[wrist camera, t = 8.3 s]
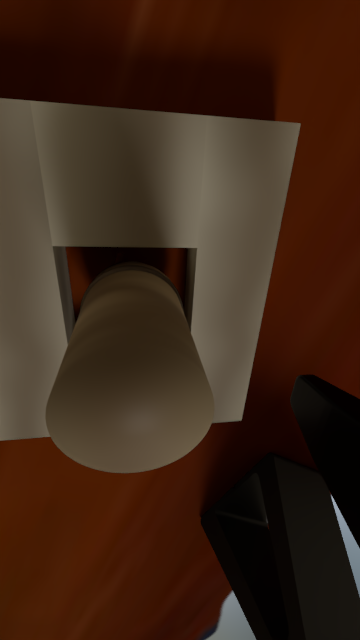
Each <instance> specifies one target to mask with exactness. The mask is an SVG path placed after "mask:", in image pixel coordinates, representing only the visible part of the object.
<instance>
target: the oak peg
mask: <svg viewBox="0 0 360 640" xmlns="http://www.w3.org/2000/svg"><path fill="white" fill-rule="evenodd" d="M214 407H215V404H214V397H213V393H212V390H211V387H210V385H209V382H208V379H207V376H206V373H205V371H204V368H203V365H202V362H201V359H200V357H199V354H198V351H197V348H196V346H195V343H194V340H193V337H192V334H191V332H190V329H189V326H188V323H187V320H186V318H185V315H184V310H183V304H182V301H181V298H180V295H179V293H178V291H177V289H176V288H175V286H174V285H173V284H172V282H171V281H170V280H169V278H168V277H167V276H166V275H165V274H164V273H162V272H161V271H160V270H158V269H157V268H155V267H153V266H150V265H147V264H144V263H141V262H136V261H128V262H122V263H119V264H116V265H113V266H111V267H109V268H107V269H105V270H104V271H102V272H101V273H100V274H99V275H97V277H96V278H95V279H94V280H93V282H92V283H91V284H90V285H89V287H88V288H87V290H86V292H85V294H84V296H83V299H82V302H81V306H80V313H79V316H78V319H77V322H76V324H75V327H74V330H73V333H72V335H71V338H70V341H69V343H68V346H67V349H66V352H65V354H64V357H63V360H62V363H61V365H60V368H59V371H58V374H57V376H56V379H55V382H54V385H53V387H52V390H51V393H50V395H49V398H48V401H47V405H46V412H45V419H46V426H47V429H48V432H49V435H50V436H51V438H52V440H53V442H54V443H55V444H56V446H57V447H58V448H59V449H60V450H61V451H62V452H63V453H64V454H65V455H67V456H68V457H70V458H71V459H73V460H74V461H76V462H78V463H80V464H82V465H84V466H87V467H90V468H93V469H96V470H101V471H106V472H114V473H134V472H142V471H148V470H152V469H156V468H159V467H162V466H165V465H167V464H170V463H172V462H174V461H176V460H178V459H180V458H181V457H183V456H184V455H186V454H187V453H189V452H190V451H191V450H192V449H193V448H195V447H196V446H197V445H198V444H199V443H200V441H201V440H202V439H203V438H204V436H205V435H206V433H207V432H208V430H209V428H210V426H211V423H212V420H213V416H214Z"/></svg>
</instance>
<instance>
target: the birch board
mask: <svg viewBox="0 0 360 640" xmlns="http://www.w3.org/2000/svg"><path fill="white" fill-rule="evenodd" d="M300 125H301V123H289V122H277V121H266V120H254V119H242V118H230V117H218V116H207V115H195V114H183V113H171V112H159V111H147V110H136V109H124V108H112V107H100V106H88V105H76V104H65V103H53V102H41V101H29V100H17V99H5V98H0V441H2V440H14V439H26V438H38V437H50V435H49V432H48V429H47V426H46V419H45V412H46V405H47V401H48V398H49V395H50V393H51V390H52V387H53V385H54V382H55V379H56V376H57V374H58V371H59V368H60V365H61V363H62V360H63V357H64V354H65V352H66V349H67V346H68V343H69V341H70V338H71V335H72V333H73V330H74V327H75V324H76V323H75V316H74V308H73V301H72V293H71V286H70V278H69V271H68V263H67V256H66V249H65V246H82V247H162V248H188V252H187V269H186V286H185V303H184V315H185V318H186V320H187V323H188V326H189V329H190V332H191V334H192V337H193V340H194V343H195V346H196V348H197V351H198V354H199V357H200V359H201V362H202V365H203V368H204V371H205V373H206V376H207V379H208V382H209V385H210V387H211V390H212V393H213V397H214V404H215V407H214V416H213V420H212V423H219V422H231V421H242V416H243V411H244V406H245V401H246V396H247V391H248V386H249V380H250V375H251V370H252V365H253V360H254V355H255V350H256V345H257V340H258V335H259V330H260V325H261V320H262V315H263V310H264V305H265V300H266V295H267V290H268V285H269V280H270V275H271V270H272V265H273V260H274V255H275V250H276V245H277V240H278V235H279V230H280V225H281V220H282V215H283V210H284V205H285V200H286V195H287V190H288V185H289V180H290V175H291V170H292V165H293V160H294V155H295V150H296V145H297V140H298V135H299V130H300Z"/></svg>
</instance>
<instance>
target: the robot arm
mask: <svg viewBox="0 0 360 640" xmlns="http://www.w3.org/2000/svg"><path fill="white" fill-rule="evenodd" d="M290 401H291V406H292V409H293V412H294V414H295V416H296V419H297V421H298V424H299V426H300V429H301V431H302V434H303V436H304V439H305V441H306V444H307V446H308V449H309V451H310V453H311V455H312V458H313V460H314V462H315V464H316V466H317V468H318V470H319V472H320V474H321V475H322V477H323V479H324V481H325V483H326V485H327V487H328V489H329V491H330V493H331V495H332V496H333V498H334V500H335V502H336V504H337V506H338V508H339V510H340V512H341V514H342V515H343V517H344V519H345V521H346V523H347V525H348V527H349V529H350V531H351V533H352V535H353V537H354V539H355V540H356V542H357V544H358V546H359V548H360V399H358V398H356V397H354V396H353V395H351V394H349V393H347V392H345V391H343V390H341V389H339V388H338V387H336V386H334V385H332V384H330V383H328V382H326V381H324V380H322V379H321V378H319V377H317V376H315V375H300V376H298V377H297V378H296V381H295V384H294V388H293V391H292V394H291V400H290Z"/></svg>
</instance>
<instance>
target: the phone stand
mask: <svg viewBox="0 0 360 640" xmlns="http://www.w3.org/2000/svg"><path fill="white" fill-rule="evenodd" d="M201 525H202V527H203V529H204V531H205V533H206V535H207V537H208V539H209V542H210V544H211V546H212V548H213V550H214V552H215V554H216V556H217V558H218V560H219V562H220V564H221V567H222V569H223V571H224V573H225V575H226V577H227V579H228V581H229V583H230V585H231V587H232V590H233V592H234V594H235V596H236V597H237V600H238V602H239V604H240V606H241V608H242V610H243V612H244V615H245V617H246V618H247V621H248V623H249V625H250V627H251V629H252V631H253V633H254V635H255V637H256V640H360V597H359V594H358V590H357V587H356V583H355V580H354V576H353V573H352V569H351V566H350V562H349V558H348V555H347V551H346V548H345V544H344V541H343V537H342V534H341V530H340V527H339V524H338V520H337V516H336V513H335V509H334V506H333V502H332V499H331V495H330V492H329V489H328V487H327V485H326V483H325V481H324V479H323V477H322V475H321V474H320V472H317V471H315V470H312V469H310V468H307V467H305V466H302V465H300V464H297V463H295V462H292V461H290V460H287V459H285V458H282V457H280V456H277V455H275V454H272V453H268V454H267V455H266V456H265V457H264V458H263V459H262V460H261V461H260V462H259V463H258V464H257V465H256V466H254V467H253V468H252V469H251V470H250V471H249V472H248V473H247V474H246V475H245V476H244V477H243V478H242V479H241V480H240V481H239V482H238V483H237V484H236V485H235V488H231V489H230V490H229V491H228V492H227V493H226V494H225V495H224V496H223V497H222V498H221V499H220V500H219V501H218V502H217V503H216V504H215V505H213V506H212V507H211V508H210V509H209V510H208V511H207V512H206V513H205V514H204V515H203V516H202V517H201ZM267 525H269V529H268V526H267ZM269 530H270V531H269Z"/></svg>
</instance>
